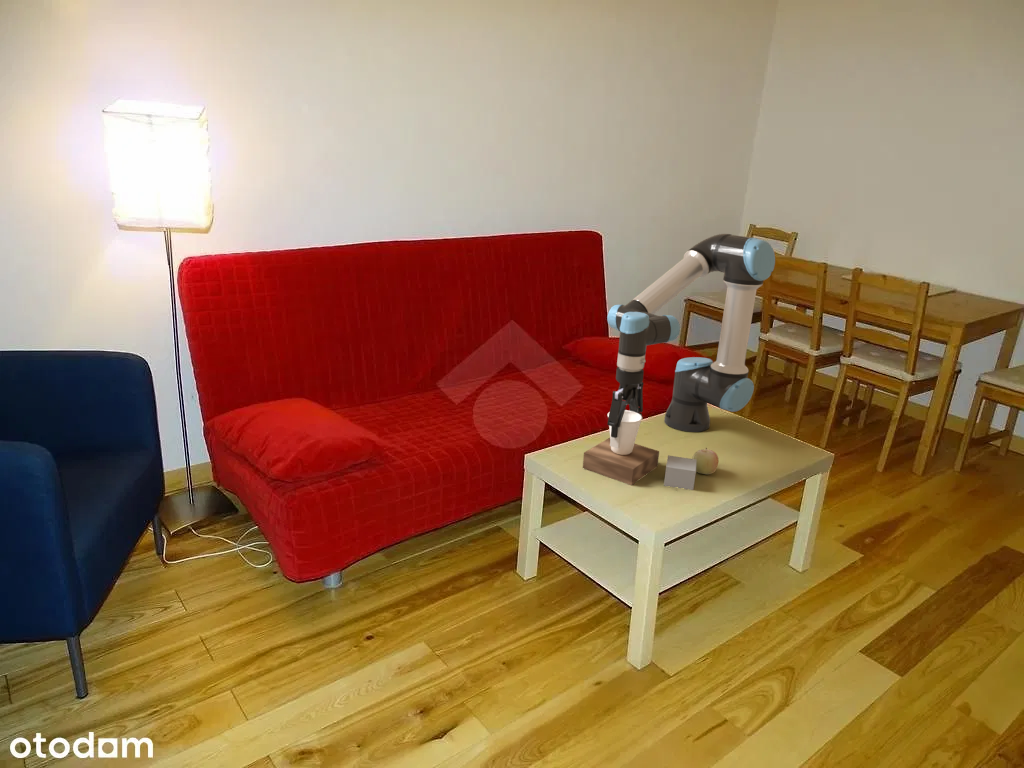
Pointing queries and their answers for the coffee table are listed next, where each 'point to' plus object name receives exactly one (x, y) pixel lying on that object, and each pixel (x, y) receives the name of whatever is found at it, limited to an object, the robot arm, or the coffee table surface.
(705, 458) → the fruit
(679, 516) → the coffee table surface
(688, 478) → the grey block
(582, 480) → the coffee table surface
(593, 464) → the walnut block
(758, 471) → the coffee table surface
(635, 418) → the cup
